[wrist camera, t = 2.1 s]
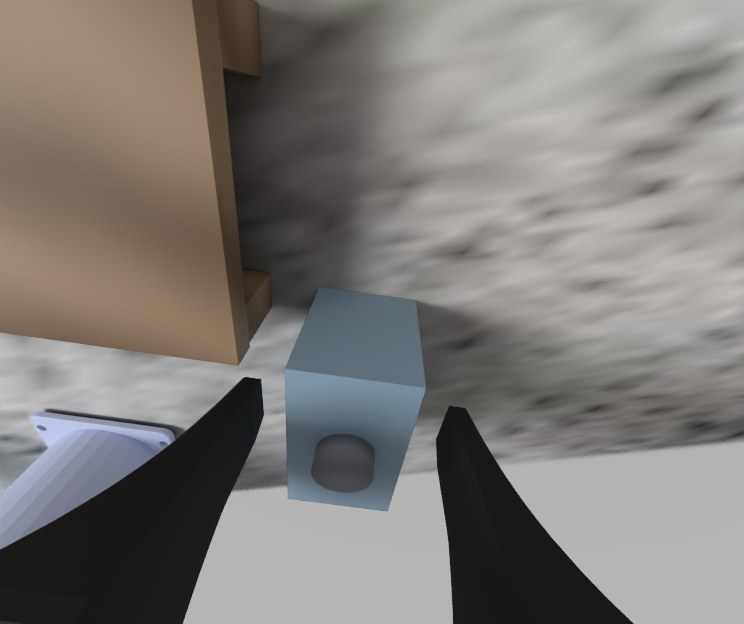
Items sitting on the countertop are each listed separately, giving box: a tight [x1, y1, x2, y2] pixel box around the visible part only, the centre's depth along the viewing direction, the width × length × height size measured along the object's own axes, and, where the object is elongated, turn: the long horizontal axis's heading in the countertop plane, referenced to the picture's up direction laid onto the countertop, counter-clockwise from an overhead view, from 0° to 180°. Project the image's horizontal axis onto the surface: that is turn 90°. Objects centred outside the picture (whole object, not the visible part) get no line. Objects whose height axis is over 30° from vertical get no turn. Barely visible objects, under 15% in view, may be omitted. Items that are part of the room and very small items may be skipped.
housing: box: [285, 287, 426, 511], centre depth 13 cm, size 7×4×6 cm, turn 173°
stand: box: [0, 0, 272, 365], centre depth 9 cm, size 10×10×4 cm
